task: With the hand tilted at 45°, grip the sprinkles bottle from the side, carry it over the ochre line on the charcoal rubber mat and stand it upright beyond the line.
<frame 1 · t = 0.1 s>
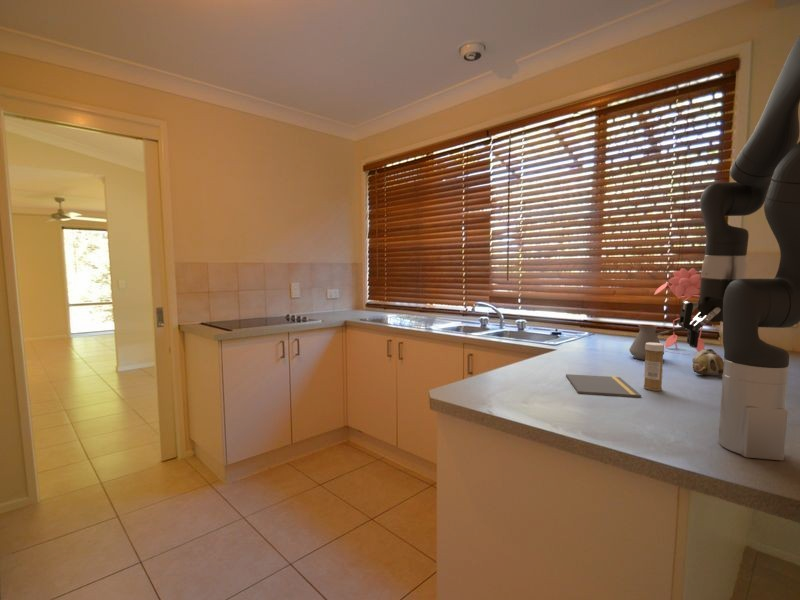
hand: (714, 347, 89), 17 cm above the worktop, fingers open, 8 cm apart
pink flower figure: (680, 351, 165), on the worktop
coffee pot: (660, 361, 149), on the worktop
sprinkles bottle: (652, 389, 115), on the worktop
line mat: (600, 385, 118), on the worktop
ceramic sculpture: (709, 374, 131), on the worktop
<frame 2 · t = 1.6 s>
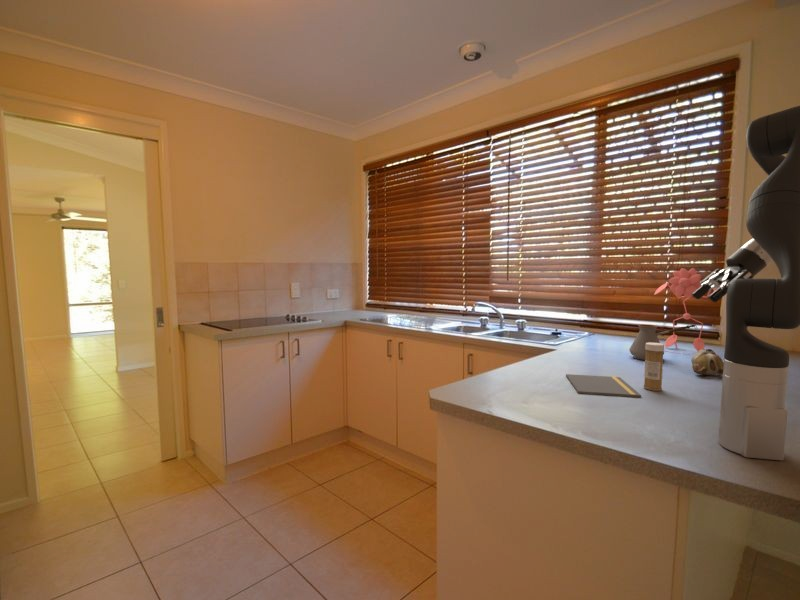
hand: (702, 298, 110), 27 cm above the worktop, fingers open, 8 cm apart
nothing on the worktop moved.
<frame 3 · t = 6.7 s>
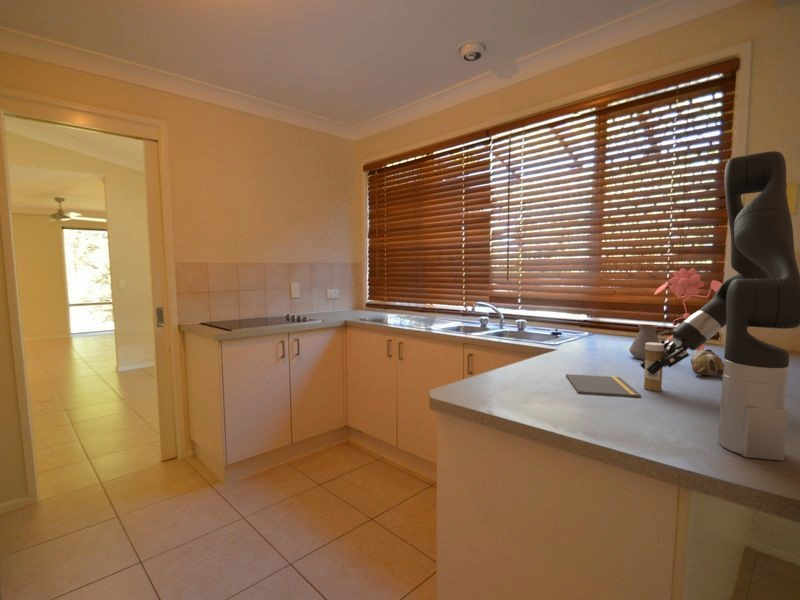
hand: (646, 369, 114), 6 cm above the worktop, fingers closed on sprinkles bottle, 4 cm apart
sprinkles bottle: (652, 389, 115), on the worktop, touching gripper
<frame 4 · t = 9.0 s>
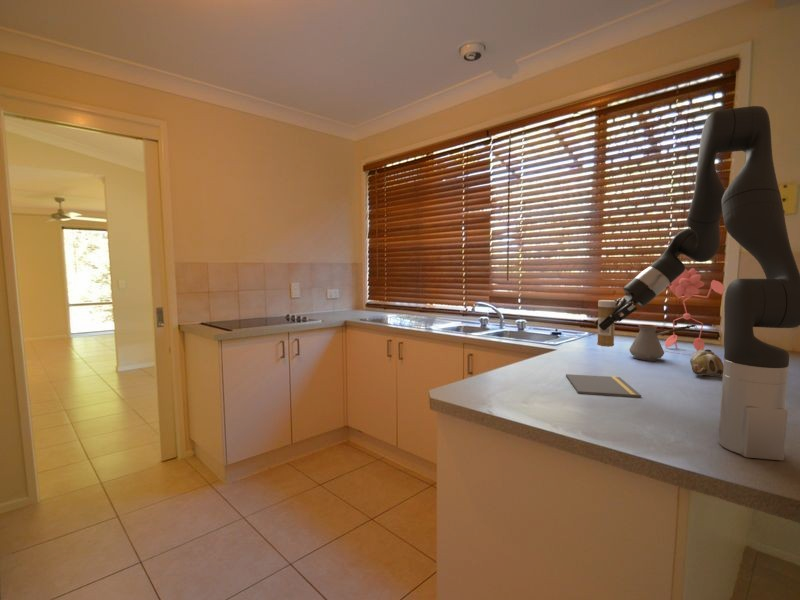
hand: (598, 326, 116), 18 cm above the worktop, fingers closed on sprinkles bottle, 4 cm apart
sprinkles bottle: (605, 346, 117), point 12 cm above the worktop, touching gripper
when the fingers open (7 cm above the worktop, at t = 11.4 s): sprinkles bottle drops 1 cm, resting on line mat.
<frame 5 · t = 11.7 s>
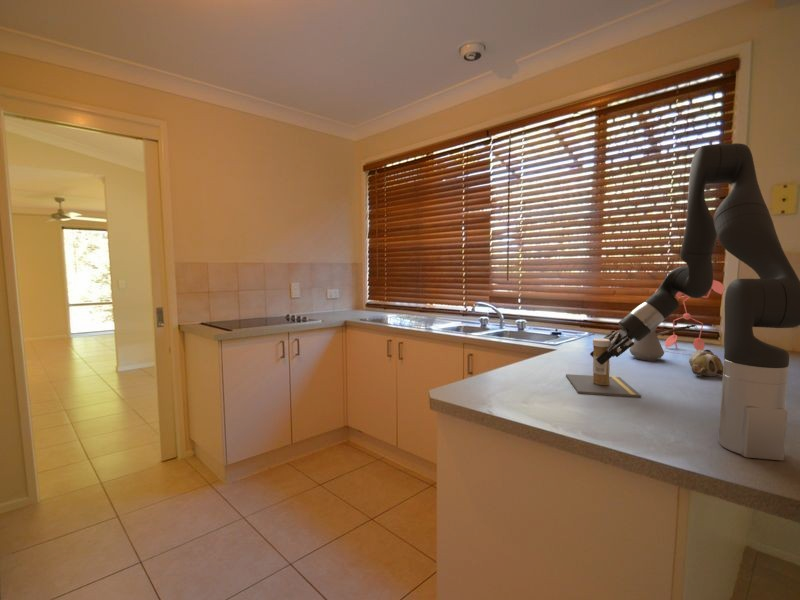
hand: (595, 359, 117), 8 cm above the worktop, fingers open, 6 cm apart
sprinkles bottle: (600, 384, 118), resting on line mat
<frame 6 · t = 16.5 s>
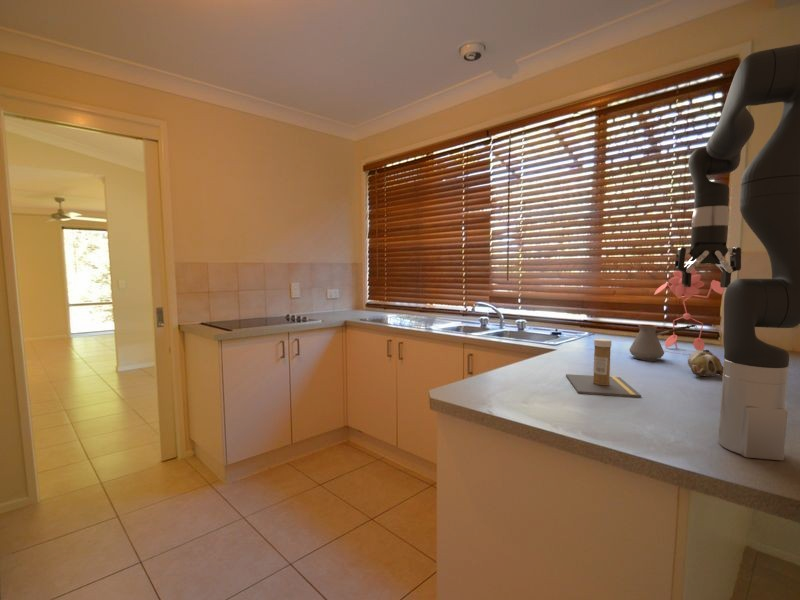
hand: (705, 287, 104), 30 cm above the worktop, fingers open, 8 cm apart
at the end: sprinkles bottle inside the target area (2.4 cm from its centre), resting on line mat; sprinkles bottle tilted 0°; the gripper is holding nothing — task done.
